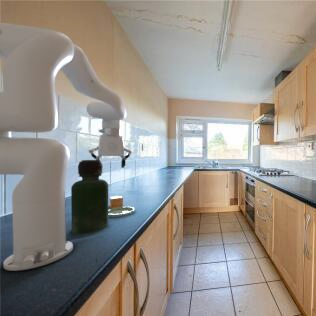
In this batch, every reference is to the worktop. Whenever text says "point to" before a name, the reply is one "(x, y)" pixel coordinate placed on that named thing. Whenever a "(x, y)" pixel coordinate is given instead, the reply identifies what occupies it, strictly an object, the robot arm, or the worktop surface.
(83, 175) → the dark green bottle
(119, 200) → the cube
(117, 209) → the white plate
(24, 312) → the worktop surface
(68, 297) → the worktop surface
